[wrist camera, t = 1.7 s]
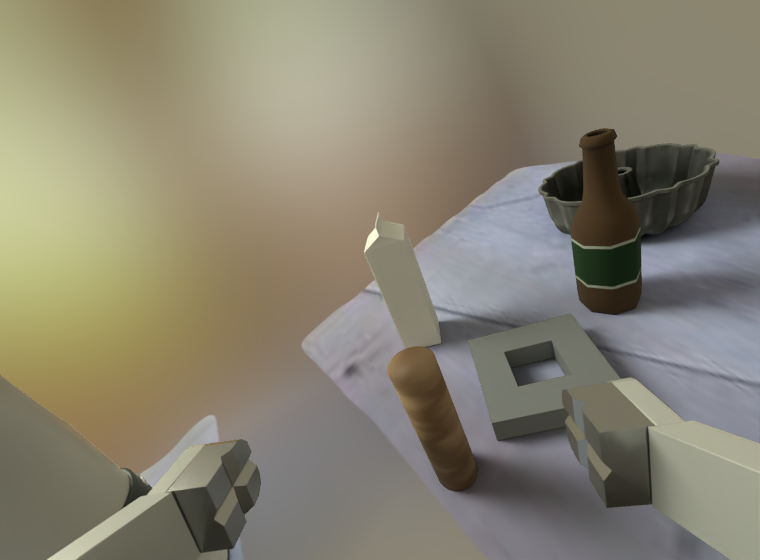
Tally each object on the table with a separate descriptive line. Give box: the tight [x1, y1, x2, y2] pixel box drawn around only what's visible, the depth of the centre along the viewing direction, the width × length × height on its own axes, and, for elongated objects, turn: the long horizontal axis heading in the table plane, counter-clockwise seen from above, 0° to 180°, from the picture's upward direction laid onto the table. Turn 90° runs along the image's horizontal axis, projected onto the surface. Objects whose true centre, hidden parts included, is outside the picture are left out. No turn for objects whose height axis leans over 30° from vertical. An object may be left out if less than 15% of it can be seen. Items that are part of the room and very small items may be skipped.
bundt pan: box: [539, 143, 719, 236], centre depth 66 cm, size 26×26×10 cm
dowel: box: [387, 346, 478, 491], centre depth 34 cm, size 4×4×16 cm
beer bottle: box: [571, 128, 642, 315], centre depth 46 cm, size 8×8×24 cm
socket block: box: [468, 314, 621, 440], centre depth 43 cm, size 14×14×3 cm
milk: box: [364, 213, 441, 349], centre depth 54 cm, size 6×6×22 cm
